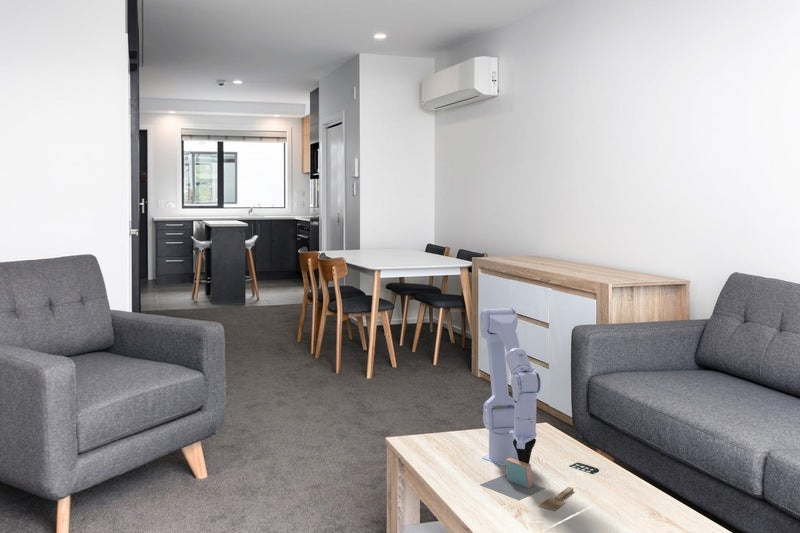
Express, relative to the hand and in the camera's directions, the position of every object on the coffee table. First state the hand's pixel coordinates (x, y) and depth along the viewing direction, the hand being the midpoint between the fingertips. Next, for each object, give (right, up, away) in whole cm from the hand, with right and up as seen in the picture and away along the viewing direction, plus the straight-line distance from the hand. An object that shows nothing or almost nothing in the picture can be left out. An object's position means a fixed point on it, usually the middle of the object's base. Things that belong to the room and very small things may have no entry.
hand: (524, 466), depth 189 cm
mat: (-3, -5, -3) cm, 7 cm away
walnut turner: (+6, -6, -11) cm, 14 cm away
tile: (-1, -4, -1) cm, 4 cm away
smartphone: (+15, -5, +7) cm, 17 cm away
